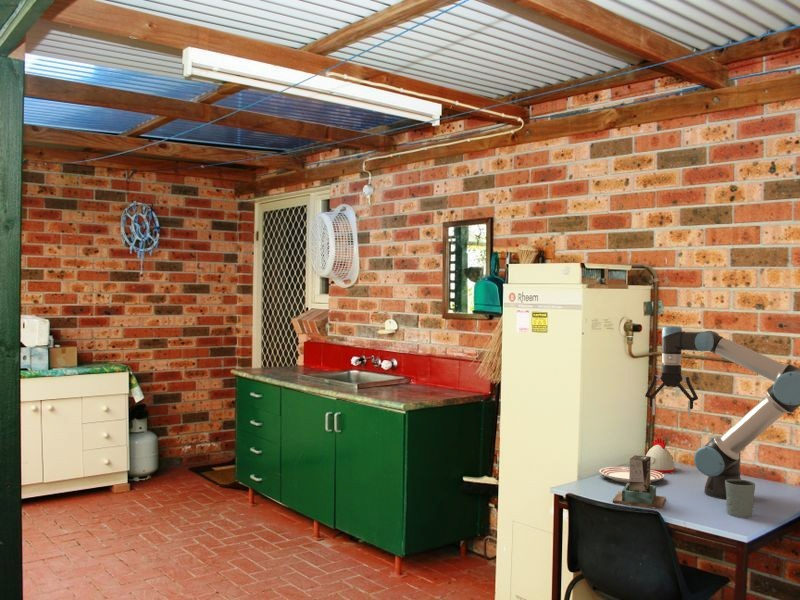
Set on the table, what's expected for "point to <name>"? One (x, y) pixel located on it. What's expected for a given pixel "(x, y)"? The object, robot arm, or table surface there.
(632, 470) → the coffee box
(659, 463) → the kitchen timer
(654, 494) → the holder tray
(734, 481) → the grey green cup
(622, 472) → the dinner plate
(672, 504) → the table surface
